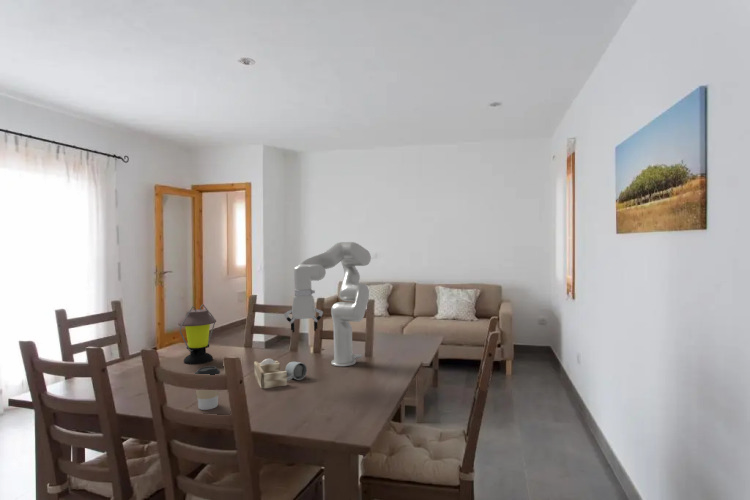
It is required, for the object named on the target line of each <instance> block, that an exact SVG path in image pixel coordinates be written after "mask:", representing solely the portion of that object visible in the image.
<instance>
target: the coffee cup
mask: <svg viewBox="0 0 750 500" xmlns="http://www.w3.org/2000/svg"><path fill="white" fill-rule="evenodd" d="M220 373H221V372H220V369H219V368H217V366H214V365H211V366H210V365H208V366H204V367H203V366H202V367H200V368H198V369H197V370H196V371H195V372H194V375H195V374H210V375H215V374H219V375H220ZM195 392H196V398H197V405H198V406H197V407H198V409H199V410H202V411H203V410H204V411H206V410H213V409H214V408H217V407H218V404H219V403H218V402H219V395H220V393H219V392H220V390H219V391H214V390H196V389H195Z"/></svg>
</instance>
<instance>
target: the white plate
mask: <svg viewBox="0 0 750 500" xmlns="http://www.w3.org/2000/svg"><path fill="white" fill-rule="evenodd" d="M275 361H276V360H274V359H272V358H265V359H264V360H262V361H261V362H260V363H261V364H260V365H266V364H274V363H276V362H275Z"/></svg>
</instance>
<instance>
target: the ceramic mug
mask: <svg viewBox="0 0 750 500" xmlns="http://www.w3.org/2000/svg"><path fill="white" fill-rule="evenodd" d="M284 371H287V382H288V381H290V380H292V379H293V380H297V381H300V380H303V379H305V377H306V375H307V372H308V368H307V366H306V364H305V363H304V362H300V361H290V362H288V363H287V364H286V365H285V369H284Z"/></svg>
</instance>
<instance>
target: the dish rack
mask: <svg viewBox="0 0 750 500" xmlns="http://www.w3.org/2000/svg"><path fill="white" fill-rule="evenodd" d="M274 361H275V362H276V363H274V364H266V365H260V364H261V362H258V361H257V360H256V361H254V362H253V369H254V378H255V380H256V382H257V384H258V385H259V387H260V389H261V390H263V389H271V388H275V387H276V388H277V387H283V386H287V385H288V381H287V377H288V376H287V371H285V370H284V371H282V370H281V363H280V362H279V361H278V360H274Z"/></svg>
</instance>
